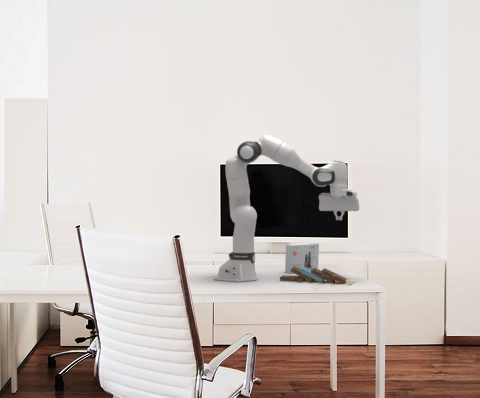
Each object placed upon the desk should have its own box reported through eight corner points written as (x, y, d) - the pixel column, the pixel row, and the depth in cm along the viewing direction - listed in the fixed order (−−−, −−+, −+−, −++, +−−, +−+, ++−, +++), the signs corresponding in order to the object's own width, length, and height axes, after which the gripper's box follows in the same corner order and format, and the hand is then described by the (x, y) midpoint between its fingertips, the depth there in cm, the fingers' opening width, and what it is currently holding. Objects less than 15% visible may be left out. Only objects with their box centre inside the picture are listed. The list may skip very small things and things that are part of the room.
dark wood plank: (303, 282, 317) (279, 280, 321) (305, 280, 322) (282, 279, 326) (303, 278, 317) (279, 276, 321) (305, 276, 322) (282, 275, 326)
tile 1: (342, 284, 310) (320, 273, 314) (345, 282, 316) (323, 271, 319) (344, 280, 310) (322, 269, 313) (346, 278, 315) (324, 268, 319)
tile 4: (311, 282, 315) (290, 271, 319) (314, 280, 321) (293, 269, 325) (313, 278, 315) (291, 267, 319) (315, 277, 321) (294, 266, 324)
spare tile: (325, 277, 319) (304, 266, 323) (323, 279, 313) (301, 268, 317) (324, 281, 319) (302, 270, 323) (321, 282, 314) (299, 272, 317)
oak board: (296, 284, 315) (296, 282, 315) (302, 280, 326) (302, 279, 326) (351, 287, 306) (351, 285, 306) (355, 283, 317) (355, 281, 317)
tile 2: (332, 283, 312) (310, 272, 316) (334, 281, 317) (313, 271, 321) (333, 279, 312) (311, 269, 315) (336, 278, 317) (314, 267, 321)
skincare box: (291, 274, 351) (291, 245, 351) (284, 272, 356) (284, 244, 355) (319, 270, 364) (319, 243, 363) (312, 269, 368) (312, 242, 368)
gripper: (317, 192, 324) (317, 220, 325) (357, 192, 317) (357, 220, 318) (320, 192, 330) (320, 219, 331) (359, 192, 323) (359, 219, 324)
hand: (339, 220), depth 324 cm, fingers closed
